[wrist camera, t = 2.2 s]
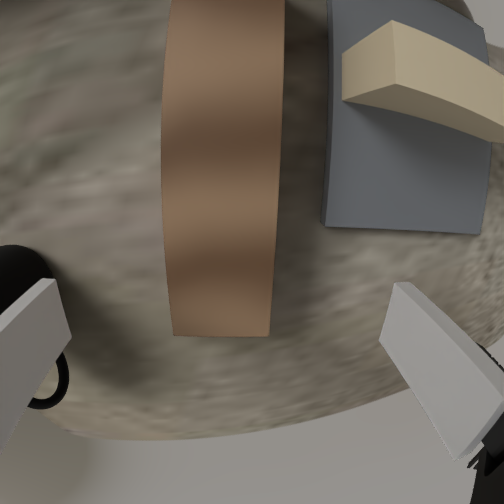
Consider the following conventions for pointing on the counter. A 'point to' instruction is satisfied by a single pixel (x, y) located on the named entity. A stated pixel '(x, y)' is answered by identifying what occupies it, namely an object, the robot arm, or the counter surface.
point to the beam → (221, 163)
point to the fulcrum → (408, 117)
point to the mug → (13, 287)
